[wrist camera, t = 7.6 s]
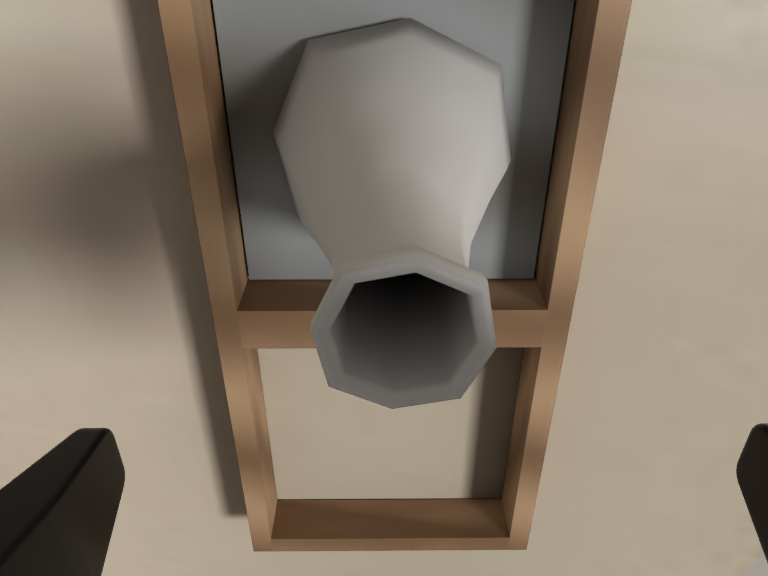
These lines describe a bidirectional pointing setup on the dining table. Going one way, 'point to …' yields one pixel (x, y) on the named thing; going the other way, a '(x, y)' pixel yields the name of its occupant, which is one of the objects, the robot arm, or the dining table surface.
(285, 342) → the caddy
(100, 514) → the robot arm
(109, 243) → the dining table surface
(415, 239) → the flask
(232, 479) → the dining table surface
